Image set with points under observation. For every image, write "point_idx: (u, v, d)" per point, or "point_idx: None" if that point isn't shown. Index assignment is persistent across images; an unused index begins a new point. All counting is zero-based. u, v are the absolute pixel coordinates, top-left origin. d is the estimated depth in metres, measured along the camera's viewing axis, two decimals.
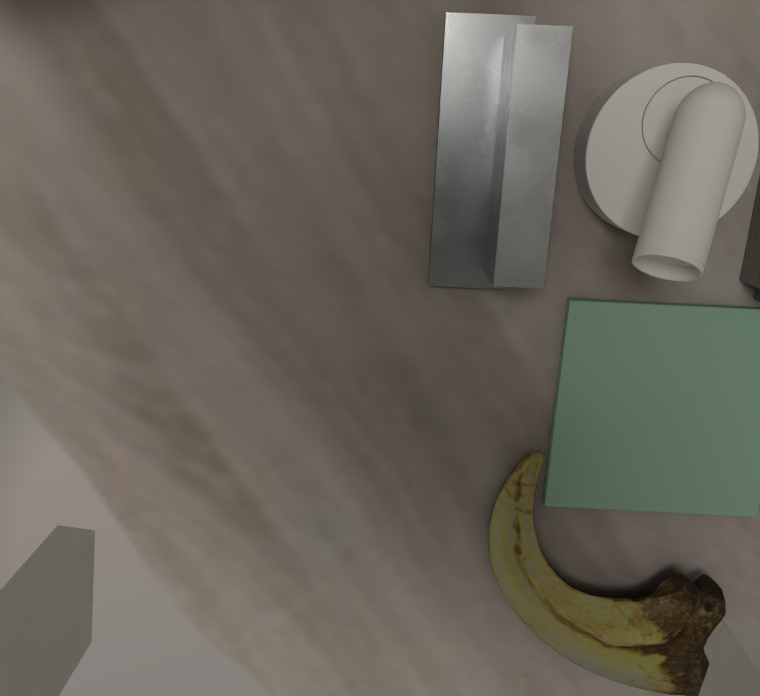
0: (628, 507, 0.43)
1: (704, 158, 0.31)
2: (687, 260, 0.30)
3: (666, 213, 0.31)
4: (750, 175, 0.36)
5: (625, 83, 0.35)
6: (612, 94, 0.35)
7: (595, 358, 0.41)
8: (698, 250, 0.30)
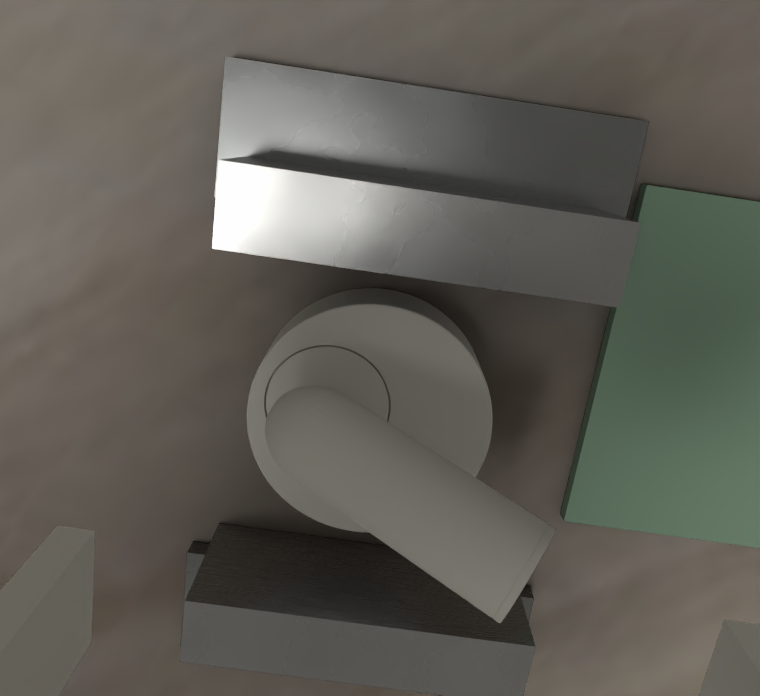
0: None
1: (364, 507, 0.20)
2: (517, 592, 0.18)
3: (439, 580, 0.20)
4: (412, 314, 0.23)
5: (269, 481, 0.25)
6: (282, 496, 0.26)
7: (659, 490, 0.27)
8: (504, 561, 0.19)
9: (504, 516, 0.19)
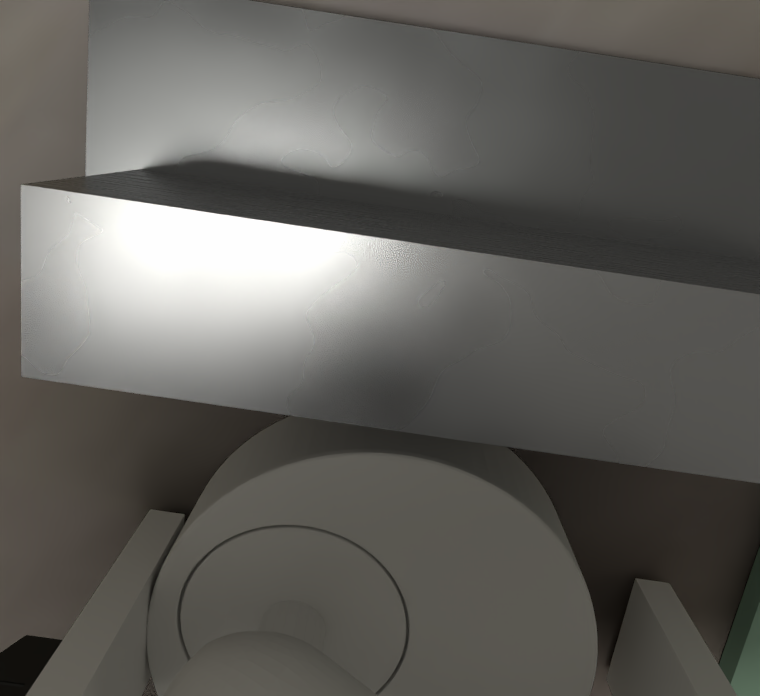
0: None
1: None
2: None
3: None
4: (452, 471, 0.12)
5: None
6: None
7: None
8: None
9: None
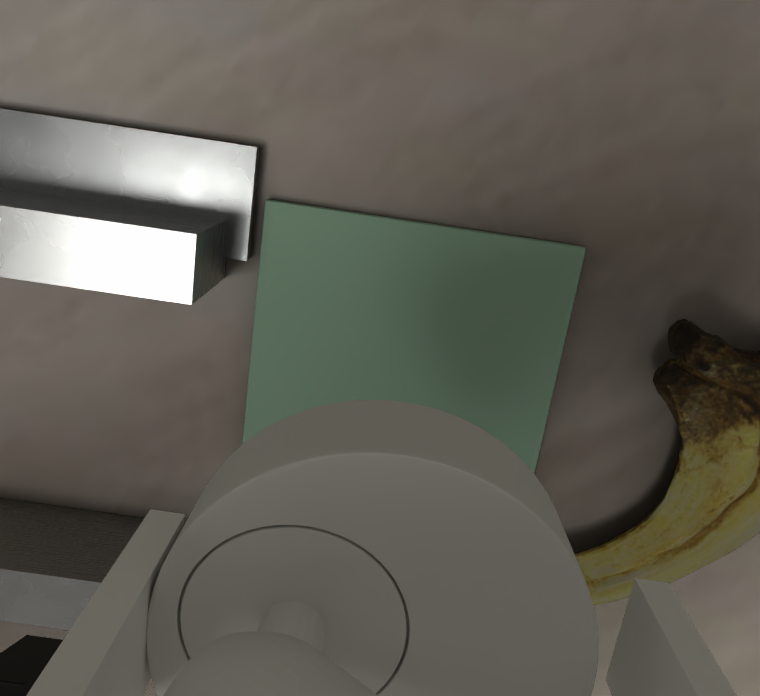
0: (540, 426, 0.31)
1: None
2: None
3: None
4: (452, 471, 0.12)
5: None
6: None
7: None
8: None
9: None
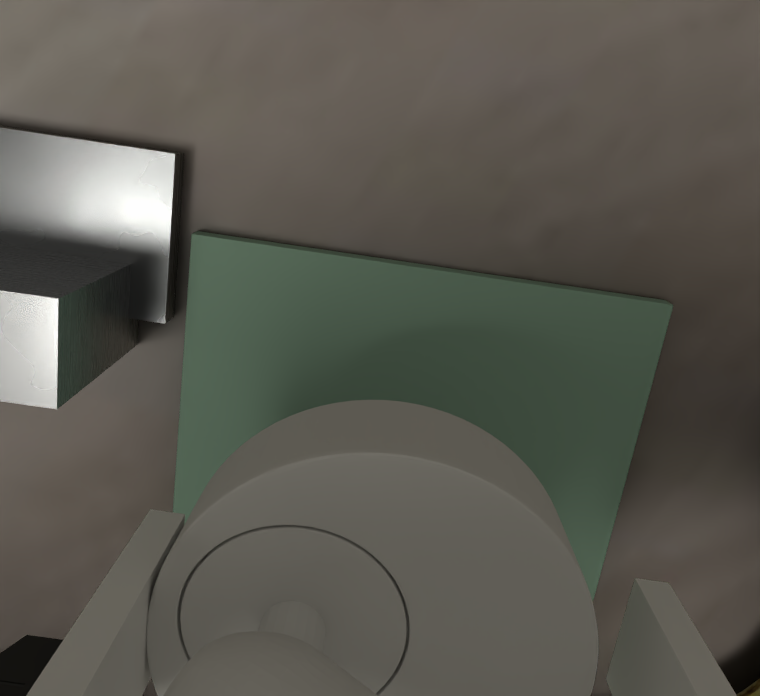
0: (598, 557, 0.21)
1: None
2: None
3: None
4: (452, 471, 0.12)
5: None
6: None
7: None
8: None
9: None
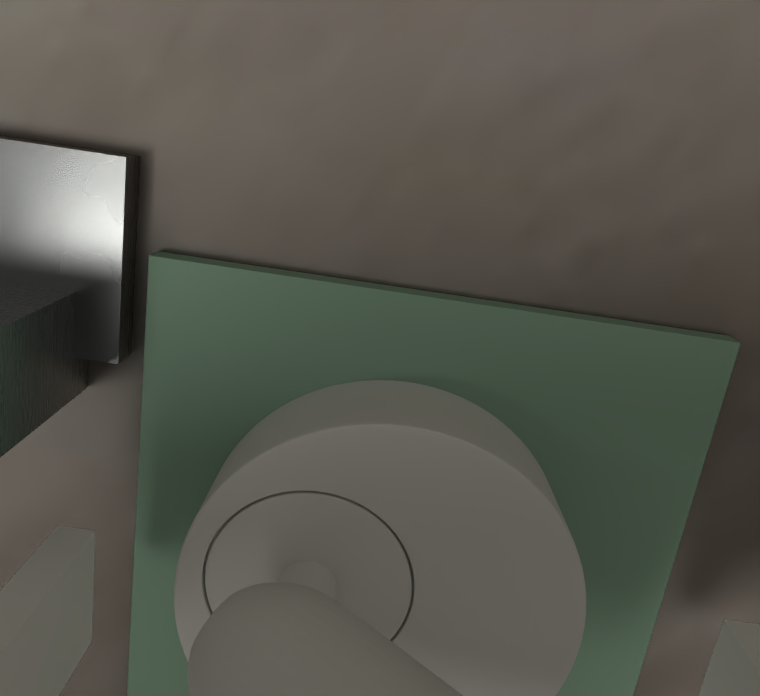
0: (641, 640, 0.18)
1: None
2: None
3: None
4: (453, 441, 0.14)
5: None
6: None
7: None
8: None
9: None
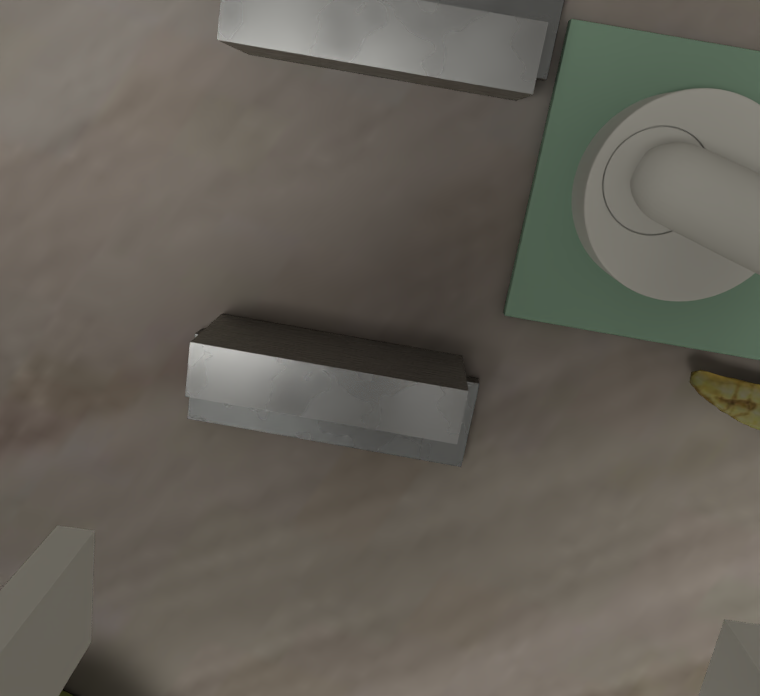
0: None
1: (742, 224, 0.24)
2: None
3: None
4: (742, 98, 0.28)
5: (595, 251, 0.30)
6: (603, 266, 0.30)
7: (584, 289, 0.33)
8: None
9: None
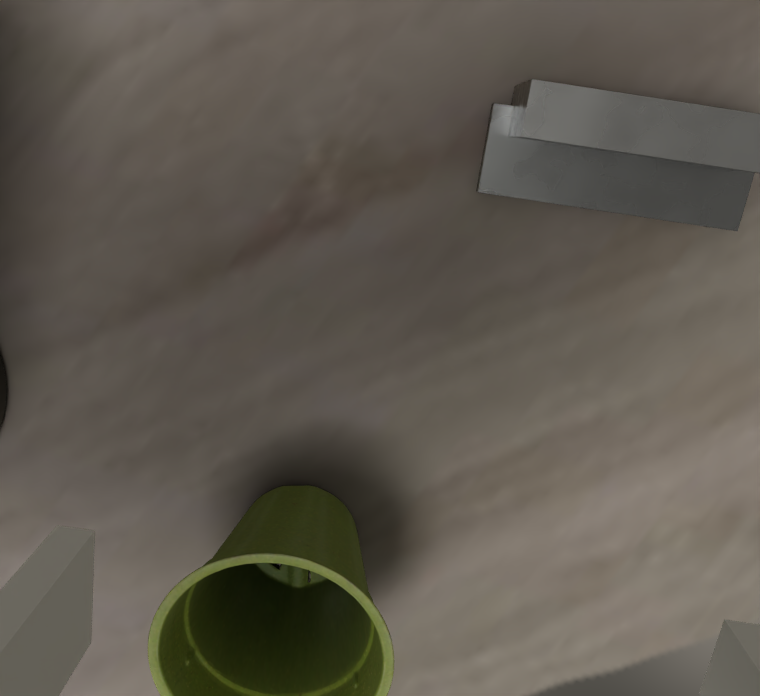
0: None
1: None
2: None
3: None
4: None
5: None
6: None
7: None
8: None
9: None
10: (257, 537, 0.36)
